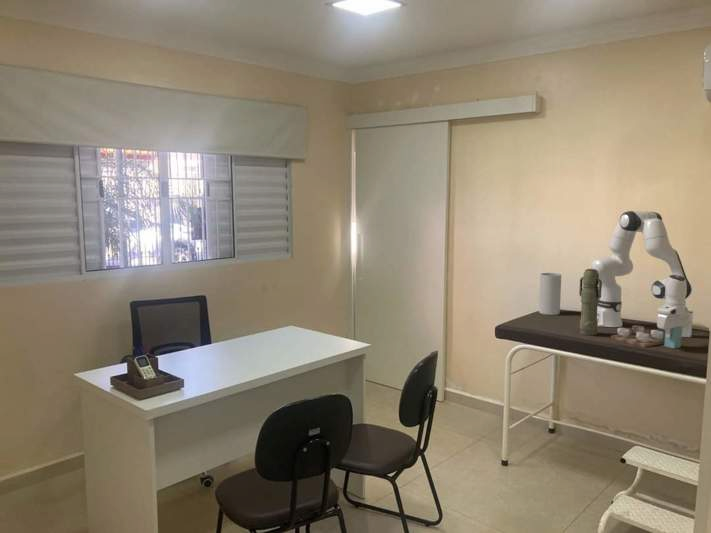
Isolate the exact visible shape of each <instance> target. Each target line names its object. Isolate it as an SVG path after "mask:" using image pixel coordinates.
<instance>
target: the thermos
mask: <svg viewBox="0 0 711 533" xmlns="http://www.w3.org/2000/svg"><path fill="white" fill-rule="evenodd" d="M601 290H602V281H601V280H600V279H599V274H598V271H597V270H596V269H591V268H587V269H585V270H584V272H583V276H582V277H581V278H580V279H579V297H580V302H581V312H580V314H581V315H580V320H579V334H580V335H583V336H586V337H587V336H590V337H592V336H593V337H594V336H598V329H599V328H598V327H599V326H598V322H597V307H598V302H599V300H600V298H601Z"/></svg>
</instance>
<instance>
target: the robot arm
mask: <svg viewBox="0 0 711 533" xmlns="http://www.w3.org/2000/svg"><path fill="white" fill-rule="evenodd" d="M637 233H642V235H643V243H644V247H645V251H646V252H647V254H649V255H650V256H651V257H653V258H655V259H659V260H661V261H664V262H665V263H667V264H668V266H669V269H670V271H671V275H668V276H667V277H666V278H664V279H659V280H655V281H654V282H653V283H652V285H651V294H652V295H653V296H654V297H655V298H656V299H659V300H665V302H664V304H663V305H662V306H660V307H658V309H657V313H658V314H657V321H656V326H657V329H658V330H662V331H663V330H664V331H665V332H666V337H671V335H672V334H671V333H670V331H671V329H672V328H677V327H684V326H689V324H690V313H689V309H690V308H688V307H687V303H686V299H688V298H689V296H691V293H692V290H693V288H692V285H691V283H690V281H689V279H688V277H687V274H686V272H685V269H684V267H683V263H682V261H681V258H680V256H679V253H678V252H677V250H676V249H675V248H673V247H672V244H671V243H670V240H669V236H668V231H667V228H666V226H665V223H664V221H663V218H662V215H661V214H660V213H659V212H656V211H648V210H647V211H646V210H635V211H632V210H630V211H629V210H628V211H625V212H622V214H620V218H619V220H618V222H617V224H616V225H615V227H614V230H613V233H612V235H611V237H610V242H609V244H608V247H609V248H608V249H610V251H611V252H612V253H611V256H610V257H601V258H598V259H595V260H593V261H592V263H591V266H590V269H596V270H597V271H598V274H599V279H600V280H601V281H602V290H601V298H600V299H599V302H598V307H597V322H598V327H606V328H607V327H608V328H622V327H623V320H622V312H621V311H622V302H623V301H622V287H621V285H620V284H618V283H617V281H616V277H624V276H626V275H629V274H631V273H632V272H633V269H634V264H633V262H632V260H631V259H630V252H631V249H632V245H633V243H634V240H635V238H636V235H637ZM665 332H664V333H665Z"/></svg>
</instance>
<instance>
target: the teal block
mask: <svg viewBox="0 0 711 533" xmlns="http://www.w3.org/2000/svg"><path fill="white" fill-rule="evenodd" d="M670 333H671V334H672V335H671V337H666V332H664V339H665V344H664V345H663V346H664V347H666V348H671V349H678V348H681V346H682V345H681V344H682V337H681V333H682V327H677V328H672V329H671V331H670Z"/></svg>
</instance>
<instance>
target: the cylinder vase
mask: <svg viewBox="0 0 711 533" xmlns="http://www.w3.org/2000/svg"><path fill="white" fill-rule="evenodd" d="M539 276H540V277H539V296H538V297H539V298H538V299H539V300H538V301H539V303H538V304H539V305H538V313H539V314H541V315H546V316H558V315H560V312H561V292H562V274H561V273H554V272H544V273H543V272H542V273H540V274H539Z"/></svg>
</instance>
